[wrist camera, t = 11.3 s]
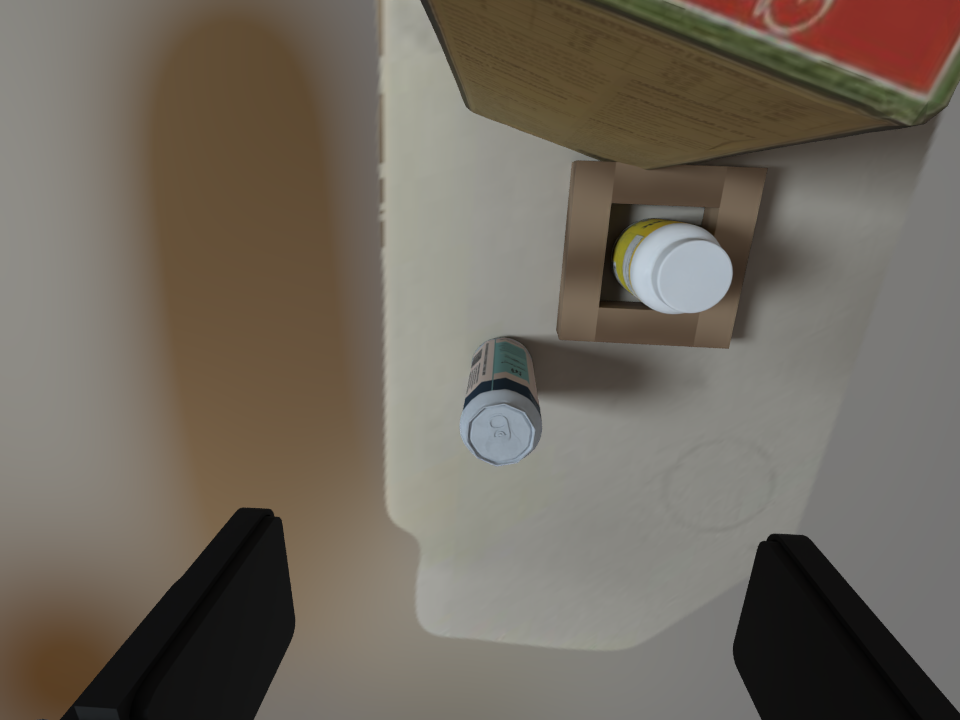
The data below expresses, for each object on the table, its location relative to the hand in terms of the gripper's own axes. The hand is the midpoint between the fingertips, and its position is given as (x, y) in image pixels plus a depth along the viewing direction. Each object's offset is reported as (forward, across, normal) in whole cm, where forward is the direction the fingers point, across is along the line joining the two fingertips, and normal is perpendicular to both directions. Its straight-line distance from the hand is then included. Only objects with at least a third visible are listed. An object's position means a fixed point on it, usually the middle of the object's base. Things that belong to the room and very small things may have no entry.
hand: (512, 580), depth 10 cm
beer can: (+29, 0, +6) cm, 30 cm away
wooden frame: (+29, -10, -3) cm, 31 cm away
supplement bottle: (+29, -10, -3) cm, 31 cm away
